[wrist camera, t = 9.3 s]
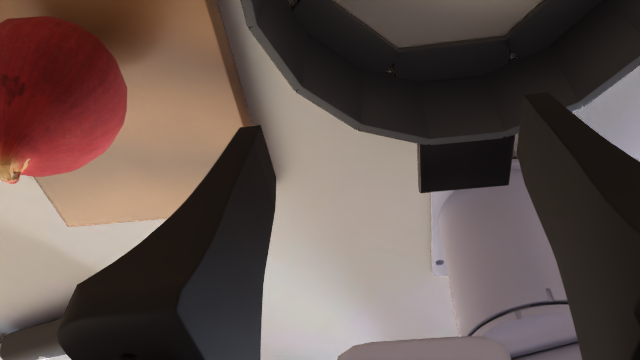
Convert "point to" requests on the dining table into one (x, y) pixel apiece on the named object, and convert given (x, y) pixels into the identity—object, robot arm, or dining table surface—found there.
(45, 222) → the dining table surface
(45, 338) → the kitchen knife
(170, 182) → the cutting board
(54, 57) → the onion
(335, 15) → the cooking pot
